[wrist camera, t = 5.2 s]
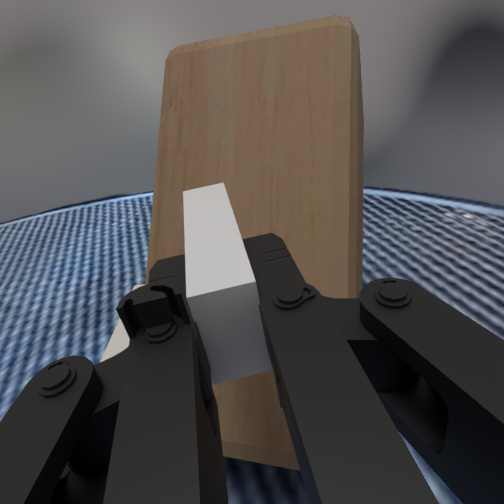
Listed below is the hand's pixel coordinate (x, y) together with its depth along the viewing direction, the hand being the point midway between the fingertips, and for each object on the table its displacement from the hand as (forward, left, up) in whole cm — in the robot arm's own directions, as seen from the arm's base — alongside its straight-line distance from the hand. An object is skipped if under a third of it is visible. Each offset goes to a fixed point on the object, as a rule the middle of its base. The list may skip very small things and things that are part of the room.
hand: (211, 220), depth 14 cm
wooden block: (0, -1, -12) cm, 12 cm away
